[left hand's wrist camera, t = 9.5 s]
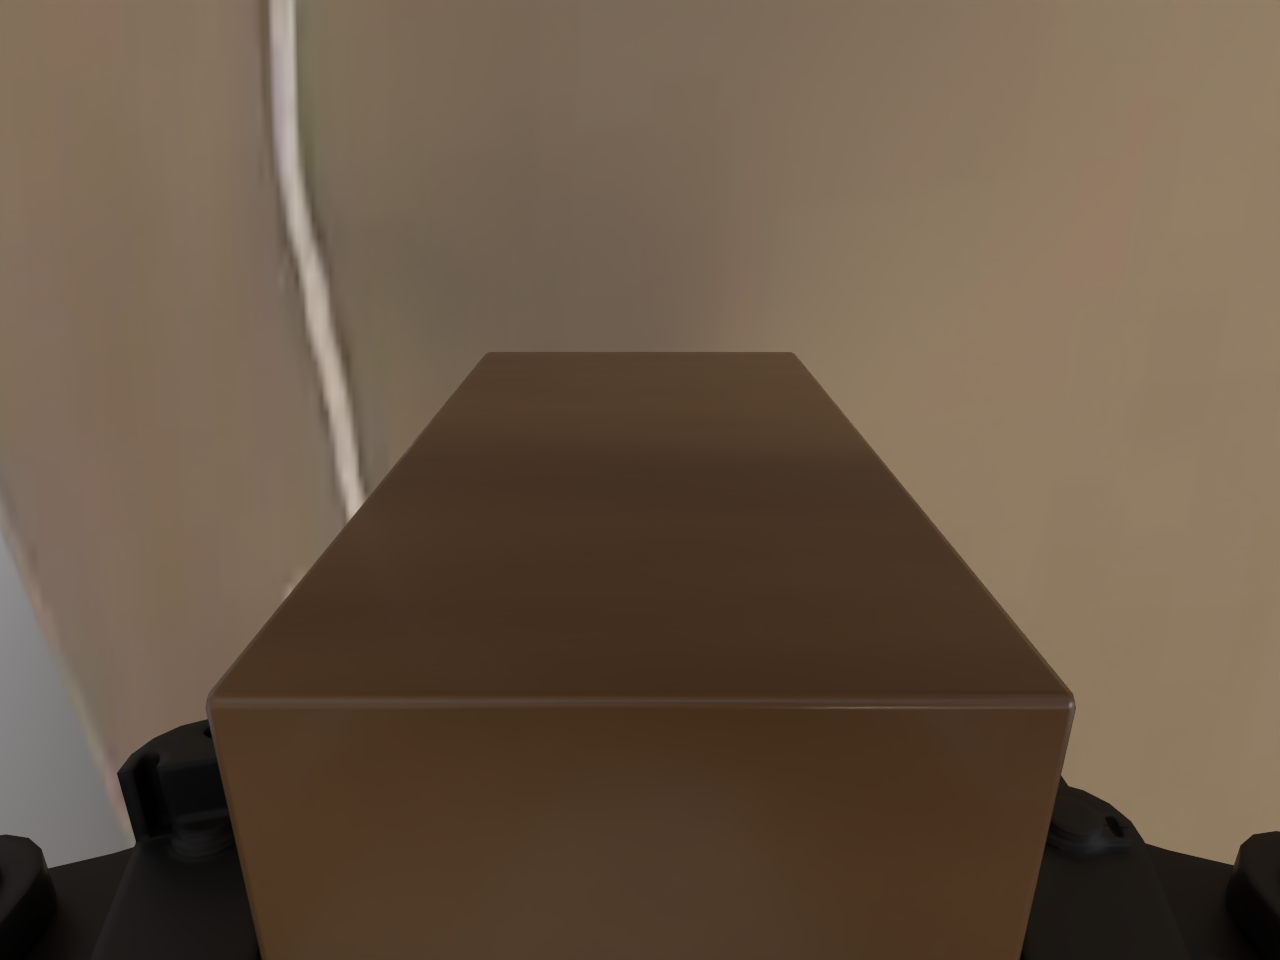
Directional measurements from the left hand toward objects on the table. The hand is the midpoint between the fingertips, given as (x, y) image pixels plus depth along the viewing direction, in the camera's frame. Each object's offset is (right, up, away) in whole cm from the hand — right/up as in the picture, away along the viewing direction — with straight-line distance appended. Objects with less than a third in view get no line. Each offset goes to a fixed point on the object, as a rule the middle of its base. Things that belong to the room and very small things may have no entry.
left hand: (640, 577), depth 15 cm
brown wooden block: (0, -7, +4) cm, 8 cm away
